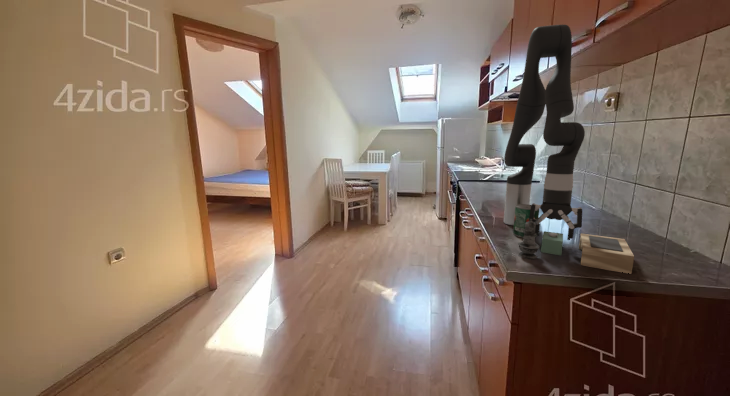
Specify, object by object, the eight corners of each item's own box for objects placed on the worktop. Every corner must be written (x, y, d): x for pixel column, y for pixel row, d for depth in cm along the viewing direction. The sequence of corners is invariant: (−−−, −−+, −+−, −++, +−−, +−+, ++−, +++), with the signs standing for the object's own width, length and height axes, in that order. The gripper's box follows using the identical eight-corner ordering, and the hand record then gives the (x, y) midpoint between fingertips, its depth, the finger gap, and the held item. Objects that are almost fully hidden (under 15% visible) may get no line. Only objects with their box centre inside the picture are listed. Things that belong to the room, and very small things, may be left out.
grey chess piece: (535, 253, 95) (539, 216, 92) (540, 260, 89) (544, 221, 87) (515, 251, 96) (518, 215, 94) (518, 258, 91) (522, 220, 89)
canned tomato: (514, 230, 118) (517, 203, 116) (537, 233, 113) (540, 205, 111) (511, 236, 111) (513, 207, 109) (535, 239, 107) (538, 209, 105)
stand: (578, 247, 99) (580, 232, 98) (622, 254, 93) (624, 238, 92) (580, 265, 85) (583, 247, 84) (631, 274, 80) (634, 255, 78)
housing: (542, 243, 103) (544, 228, 102) (561, 246, 100) (563, 231, 99) (540, 252, 96) (542, 236, 94) (561, 255, 93) (563, 239, 92)
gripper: (585, 187, 93) (579, 237, 96) (533, 184, 101) (529, 231, 103) (586, 191, 87) (580, 244, 90) (530, 187, 94) (526, 236, 97)
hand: (552, 237), depth 96 cm, fingers open, 8 cm apart
